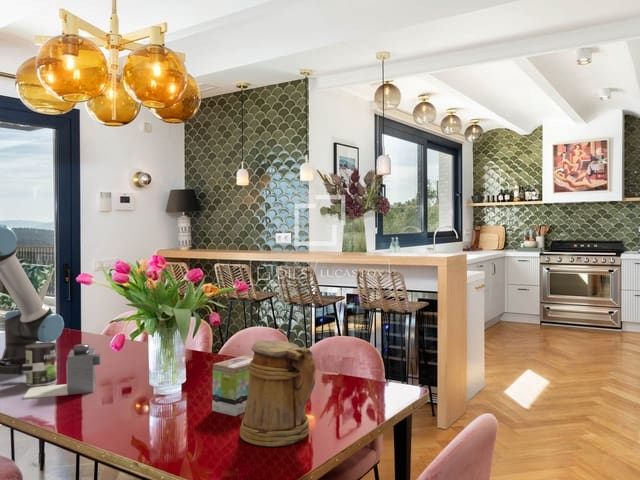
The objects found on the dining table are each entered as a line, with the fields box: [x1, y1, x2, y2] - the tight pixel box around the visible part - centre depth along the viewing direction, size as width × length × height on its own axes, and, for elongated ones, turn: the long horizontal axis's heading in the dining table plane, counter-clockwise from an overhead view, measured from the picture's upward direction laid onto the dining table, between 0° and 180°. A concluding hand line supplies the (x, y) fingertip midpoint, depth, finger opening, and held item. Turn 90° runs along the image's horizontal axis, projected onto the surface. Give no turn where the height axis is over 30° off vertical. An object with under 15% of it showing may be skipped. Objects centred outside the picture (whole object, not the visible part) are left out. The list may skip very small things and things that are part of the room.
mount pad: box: [23, 383, 68, 400], centre depth 187 cm, size 12×14×1 cm
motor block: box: [65, 343, 101, 396], centre depth 191 cm, size 12×10×15 cm
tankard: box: [239, 339, 317, 448], centre depth 144 cm, size 18×24×25 cm
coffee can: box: [25, 341, 58, 387], centre depth 199 cm, size 10×10×14 cm
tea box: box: [211, 355, 254, 417], centre depth 169 cm, size 15×10×15 cm, turn 148°
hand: (46, 362), depth 199 cm, fingers open, 13 cm apart
